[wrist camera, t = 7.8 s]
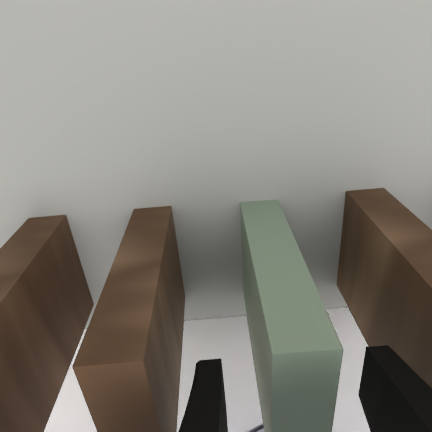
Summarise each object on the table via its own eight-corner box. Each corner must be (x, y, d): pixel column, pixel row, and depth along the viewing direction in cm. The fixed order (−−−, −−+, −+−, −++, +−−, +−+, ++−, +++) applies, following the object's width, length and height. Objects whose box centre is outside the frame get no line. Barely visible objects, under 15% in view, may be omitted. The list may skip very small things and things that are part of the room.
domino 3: (383, 187, 15) (545, 328, 8) (369, 282, 17) (484, 456, 10) (345, 191, 15) (472, 334, 8) (336, 284, 17) (428, 460, 10)
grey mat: (776, -135, 11) (791, -139, 11) (572, 284, 18) (577, 288, 18) (-265, -40, 11) (-276, -41, 11) (-47, 335, 18) (-51, 339, 18)
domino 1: (66, 214, 15) (-55, 377, 8) (93, 304, 17) (19, 492, 10) (28, 217, 15) (-125, 383, 8) (61, 307, 17) (-36, 497, 10)
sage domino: (277, 199, 15) (343, 348, 8) (276, 291, 17) (326, 471, 10) (240, 202, 15) (272, 354, 8) (243, 294, 17) (271, 474, 10)
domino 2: (171, 205, 15) (143, 361, 8) (185, 297, 17) (173, 480, 10) (133, 208, 15) (72, 366, 8) (152, 299, 17) (118, 484, 10)
